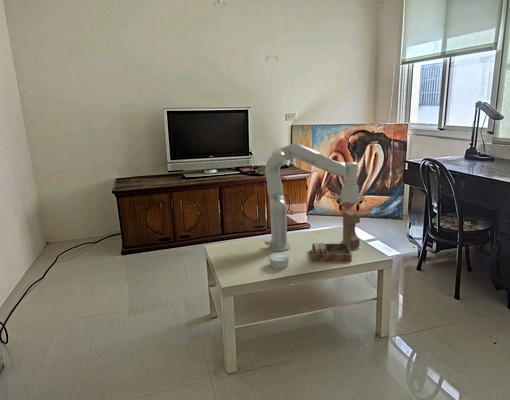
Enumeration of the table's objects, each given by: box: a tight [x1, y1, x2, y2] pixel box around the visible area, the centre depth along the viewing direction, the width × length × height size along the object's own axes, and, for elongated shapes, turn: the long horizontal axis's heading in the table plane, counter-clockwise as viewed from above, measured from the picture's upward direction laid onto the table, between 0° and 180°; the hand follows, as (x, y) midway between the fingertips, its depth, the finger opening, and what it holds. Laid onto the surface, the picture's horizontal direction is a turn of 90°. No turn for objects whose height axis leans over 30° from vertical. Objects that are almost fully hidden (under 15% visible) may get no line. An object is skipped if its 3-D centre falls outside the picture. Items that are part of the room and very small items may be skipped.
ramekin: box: [268, 252, 290, 270], centre depth 197 cm, size 11×11×5 cm
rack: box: [311, 243, 353, 262], centre depth 207 cm, size 21×17×4 cm
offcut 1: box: [314, 242, 320, 254], centre depth 208 cm, size 2×10×6 cm, turn 174°
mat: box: [340, 240, 359, 250], centre depth 221 cm, size 9×13×1 cm
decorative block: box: [342, 210, 361, 248], centre depth 219 cm, size 11×6×20 cm, turn 13°
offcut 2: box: [319, 242, 325, 254], centre depth 207 cm, size 2×10×6 cm, turn 174°
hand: (348, 210), depth 216 cm, fingers open, 9 cm apart
